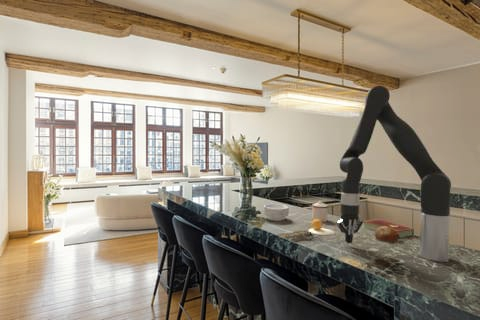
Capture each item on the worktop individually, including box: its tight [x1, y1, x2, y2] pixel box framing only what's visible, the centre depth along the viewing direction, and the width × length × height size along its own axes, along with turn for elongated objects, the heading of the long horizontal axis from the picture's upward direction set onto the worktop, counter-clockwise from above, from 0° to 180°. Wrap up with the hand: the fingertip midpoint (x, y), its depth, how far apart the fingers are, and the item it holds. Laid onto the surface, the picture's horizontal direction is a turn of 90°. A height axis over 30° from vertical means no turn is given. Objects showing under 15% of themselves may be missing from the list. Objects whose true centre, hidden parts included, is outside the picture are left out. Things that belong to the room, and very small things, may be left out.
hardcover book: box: [362, 219, 415, 238], centre depth 148 cm, size 12×21×4 cm, turn 23°
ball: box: [311, 219, 323, 230], centre depth 148 cm, size 6×6×6 cm
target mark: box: [308, 227, 336, 236], centre depth 145 cm, size 13×13×1 cm
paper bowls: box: [263, 203, 290, 222], centre depth 171 cm, size 15×15×8 cm
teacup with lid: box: [311, 200, 329, 223], centre depth 171 cm, size 12×9×12 cm
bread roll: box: [374, 226, 401, 243], centre depth 134 cm, size 10×10×8 cm
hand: (348, 242), depth 123 cm, fingers closed
